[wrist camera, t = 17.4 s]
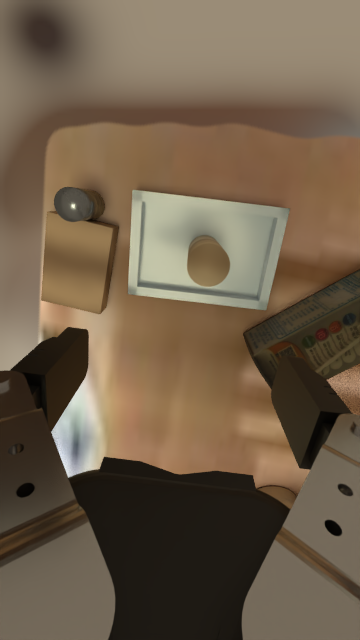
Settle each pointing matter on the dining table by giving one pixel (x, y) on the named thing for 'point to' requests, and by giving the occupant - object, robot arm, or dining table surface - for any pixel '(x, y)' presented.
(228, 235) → the tray
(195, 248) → the tan cylinder
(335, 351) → the beverage carton
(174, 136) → the dining table surface
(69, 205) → the stop post
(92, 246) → the tan flat block
